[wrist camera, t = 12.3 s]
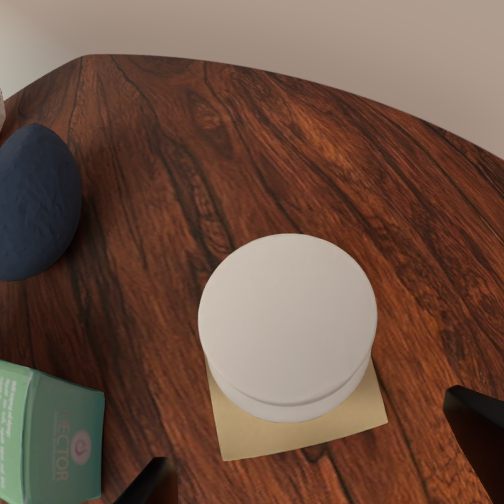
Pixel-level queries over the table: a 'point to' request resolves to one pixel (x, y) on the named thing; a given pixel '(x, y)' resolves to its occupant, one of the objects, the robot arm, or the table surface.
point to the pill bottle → (288, 327)
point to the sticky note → (294, 434)
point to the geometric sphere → (2, 111)
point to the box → (48, 438)
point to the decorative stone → (36, 201)
